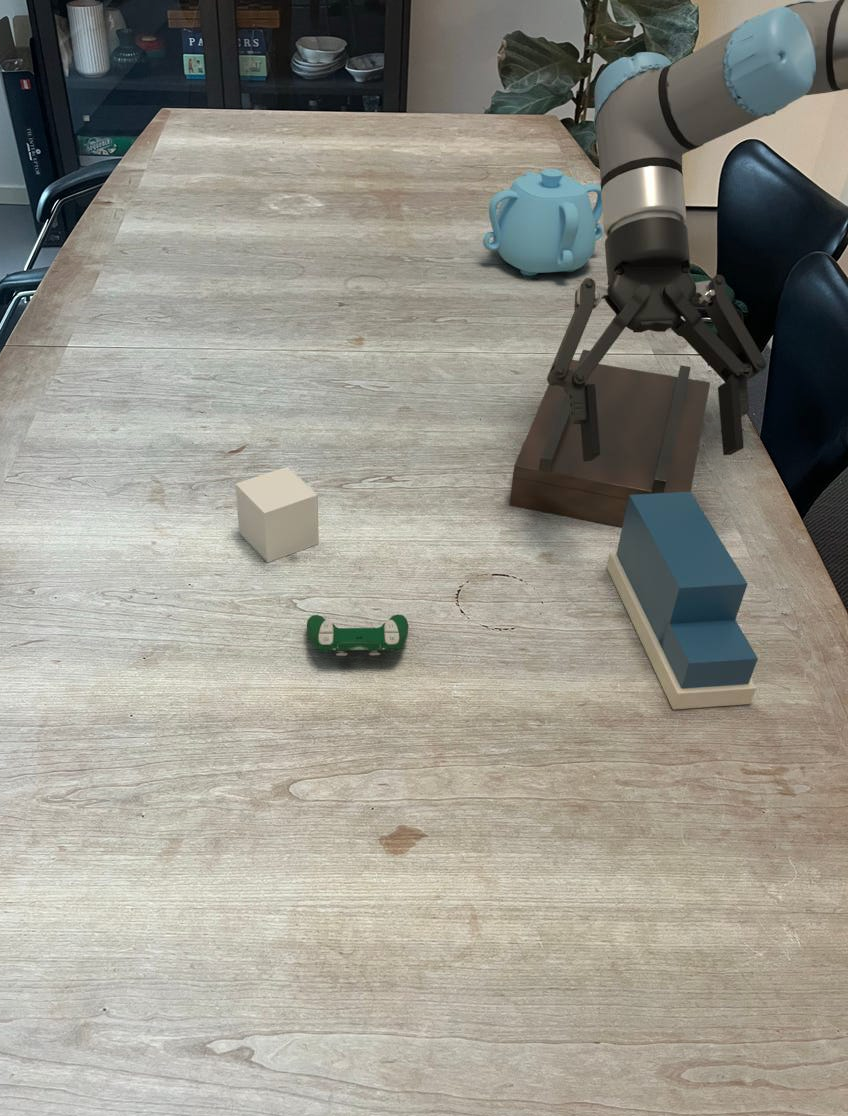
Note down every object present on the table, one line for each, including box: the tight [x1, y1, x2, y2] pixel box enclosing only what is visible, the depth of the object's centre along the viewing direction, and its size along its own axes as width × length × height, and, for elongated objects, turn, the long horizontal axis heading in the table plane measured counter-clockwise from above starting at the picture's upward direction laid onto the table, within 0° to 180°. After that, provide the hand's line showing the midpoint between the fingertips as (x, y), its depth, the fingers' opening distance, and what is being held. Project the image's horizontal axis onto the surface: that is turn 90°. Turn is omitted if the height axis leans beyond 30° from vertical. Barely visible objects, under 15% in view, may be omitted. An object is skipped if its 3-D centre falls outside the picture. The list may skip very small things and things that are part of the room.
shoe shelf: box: [508, 349, 711, 528], centre depth 116 cm, size 18×26×6 cm
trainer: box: [606, 491, 759, 710], centre depth 93 cm, size 20×7×9 cm, turn 7°
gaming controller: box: [306, 613, 409, 657], centre depth 93 cm, size 9×4×6 cm
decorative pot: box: [482, 168, 604, 276], centre depth 157 cm, size 16×16×14 cm
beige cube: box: [234, 466, 320, 563], centre depth 104 cm, size 6×6×6 cm
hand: (663, 455), depth 96 cm, fingers open, 13 cm apart
